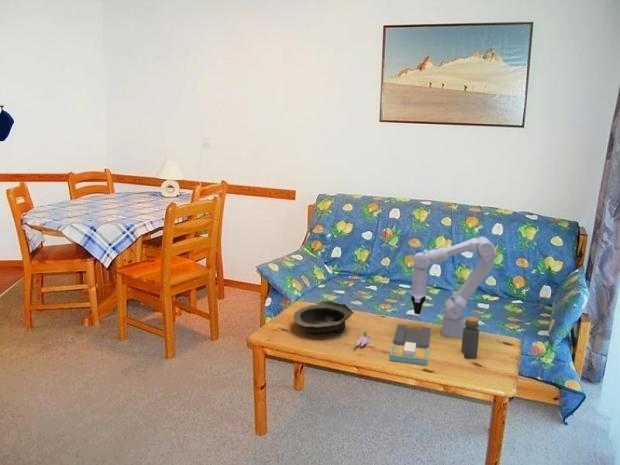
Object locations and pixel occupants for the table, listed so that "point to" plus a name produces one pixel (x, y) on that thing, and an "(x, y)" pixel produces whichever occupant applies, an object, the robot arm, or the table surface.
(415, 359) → the tray
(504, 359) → the table surface
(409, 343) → the cream cube block
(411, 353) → the beige cube
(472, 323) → the bottle
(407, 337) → the slotted plate
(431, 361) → the table surface
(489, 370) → the table surface
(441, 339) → the table surface
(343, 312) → the stone bowl
